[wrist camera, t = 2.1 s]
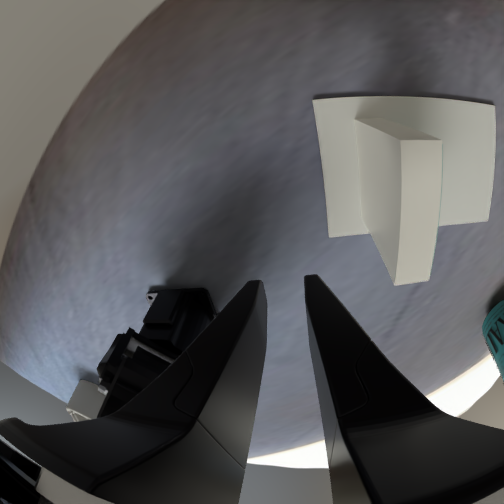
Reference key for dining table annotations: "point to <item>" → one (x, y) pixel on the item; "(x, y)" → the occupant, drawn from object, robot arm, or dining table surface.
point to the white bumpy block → (85, 401)
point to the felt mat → (422, 119)
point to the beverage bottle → (495, 334)
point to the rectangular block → (400, 195)
